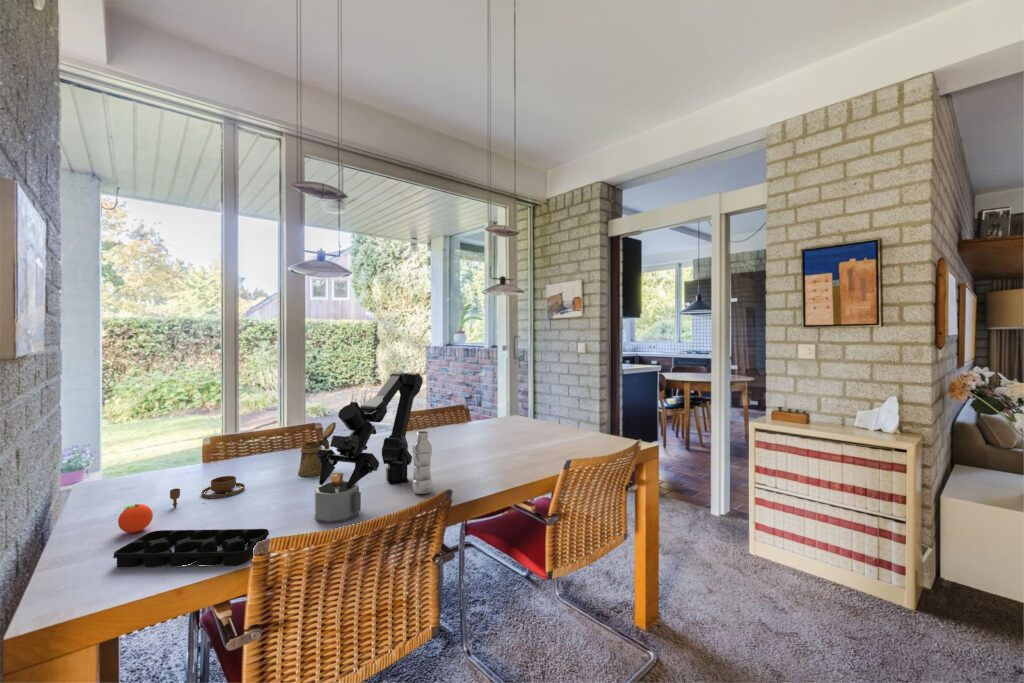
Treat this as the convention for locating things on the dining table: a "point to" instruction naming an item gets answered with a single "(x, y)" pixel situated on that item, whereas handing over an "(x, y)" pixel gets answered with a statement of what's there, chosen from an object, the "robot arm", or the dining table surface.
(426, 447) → the plastic bottle
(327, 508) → the press jug
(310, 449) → the wooden mug
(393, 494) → the dining table surface
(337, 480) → the plunger
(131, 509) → the clementine
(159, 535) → the egg carton
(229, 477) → the place setting
